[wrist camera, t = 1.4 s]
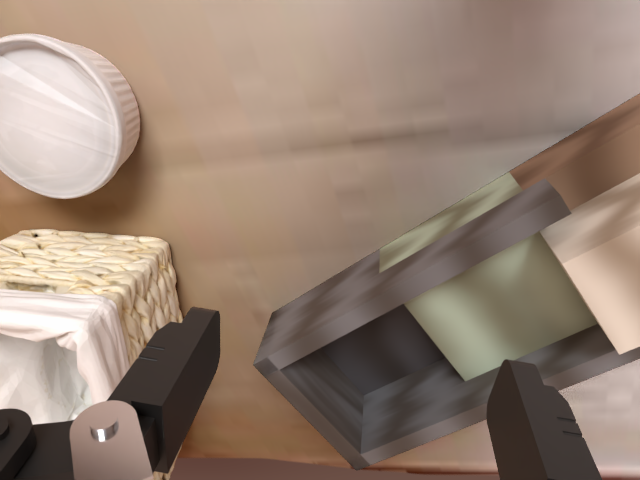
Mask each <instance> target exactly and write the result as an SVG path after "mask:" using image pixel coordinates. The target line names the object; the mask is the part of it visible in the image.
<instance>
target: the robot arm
mask: <svg viewBox="0 0 640 480" xmlns="http://www.w3.org/2000/svg"><path fill="white" fill-rule="evenodd" d="M219 358H220V314H219V311H215V310H209V309H203V308H197V307H192V308H191V309H190V310H189V312H188V313H187V315H186V316H185V318H184V319H183V321H182V323H177V322H169V323H168V324H166V325H165V326H163V327H162V328H160V329H159V330H157V331H156V332H155V333H154V335H153V336H152V338H151V339H150V340H149V342H148V343H147V345H146V348H144V349H143V350H142V352H141V353H140V354H139V357H138V359H136V360H135V362H134V363H133V364H132V366H131V367H130V369H129V370H128V371H127V373H126V374H125V376H124V377H123V378H122V380H121V381H120V383H119V384H118V385H117V387H116V388H115V390H114V391H113V393H112V394H111V395H110V397H109V398H108V399H107V401H104V402H100V403H97V404H94V405H92V406H90V407H88V408H87V409H85V410H84V411H83V412H81V413H80V414H79V415H78V416H77V417H76V418H75V420H71V421H64V422H54V423H44V424H34V425H33V424H32V421H31V418H30V416H29V415H28V414H27V413H26V412H24V411H22V410H19V409H12V408H9V409H0V480H154V477H153V473H154V471H156V472H161V473H166V474H168V473H169V471H170V469H171V467H172V464H173V462H174V460H175V458H176V456H177V454H178V452H179V450H180V447H181V445H182V443H183V441H184V439H185V437H186V435H187V433H188V430H189V428H190V426H191V424H192V422H193V420H194V418H195V416H196V413H197V411H198V409H199V407H200V405H201V403H202V401H203V399H204V396H205V394H206V392H207V390H208V388H209V386H210V384H211V382H212V379H213V377H214V375H215V373H216V370H217V367H218V363H219ZM486 415H487V424H488V428H489V433H490V437H491V441H492V446H493V450H494V454H495V459H496V463H497V467H498V472H499V476H500V480H602V478H601V476H600V474H599V471H598V469H597V467H596V465H595V462H594V460H593V458H592V455H591V453H590V451H589V449H588V446H587V444H586V442H585V440H584V438H582V433H581V431H580V428H579V426H578V424H577V423H576V419H575V417H574V415H573V413H572V410H571V408H570V406H569V403H568V402H567V401H566V400H565V399H564V398H563V396H562V395H561V394H560V393H559V392H558V391H557V390H556V389H555V388H554V387H553V386H547V385H544V384H543V381H542V379H541V376H540V374H539V371H538V369H537V367H536V365H535V364H532V363H526V362H520V361H514V360H508V359H505V360H504V361H503V362H502V364H501V366H500V369H499V372H498V374H497V377H496V380H495V382H494V385H493V388H492V390H491V393H490V396H489V399H488V403H487V412H486Z"/></svg>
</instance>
